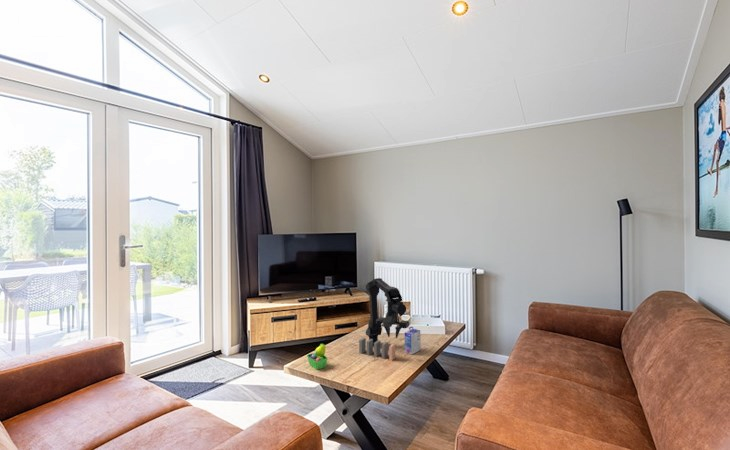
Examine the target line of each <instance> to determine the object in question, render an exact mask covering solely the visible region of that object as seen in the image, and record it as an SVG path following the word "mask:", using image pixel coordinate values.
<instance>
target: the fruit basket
mask: <svg viewBox="0 0 730 450" xmlns="http://www.w3.org/2000/svg"><path fill="white" fill-rule="evenodd" d="M314 351H315V352H312V353H308V354H307V355H306V357H307V360H308V363H309V365H310V366H312V367H313V368H314V369H315V370H316V371H317V370H320V369H323V368H326V365H327V361H328V357H327V356H325V355H326V344H324V343H320V344H319V346H318V347H316V348H315V350H314Z"/></svg>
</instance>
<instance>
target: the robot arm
mask: <svg viewBox="0 0 730 450" xmlns="http://www.w3.org/2000/svg"><path fill="white" fill-rule="evenodd" d="M365 290H366V294H367V295H368V297H369V314H370V315H369V317H370V320H369V322H368V324H367V329H366V330H365V335H366V336H367V337H368V340H370V339H373V347H374V343H375V342H376V341H378V340H379V336H382V330H383V329H384V330H385V332H386V334H387V337H388V338H390V336H391V327H392V326H395V325H396V326H395V339H397V338H398V337H399V335H400V331H401V330H402V329H407V328H409V327H410V322H409V320H404V319H402V320H401V321H399V318H398V315H402V316H403V315H404V314H405V313H406V312H407V307H406V305H405V304H404V302H403V296H402V294H401V292H400V290H399V288H397V287H395V286H391V285H389V284H388V283H387V282H385V280H383V278H380V277H378V278H377V277H376V278H373V279H372V280H371V281H369V282H367V284H365ZM380 290H381V291H382V292H383V293H384V296H385V298H386V300H385V301H386V302H387V312H386V316H385V317H383V316H379V312H378V311H379V309H378V296H379V293H380Z"/></svg>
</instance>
